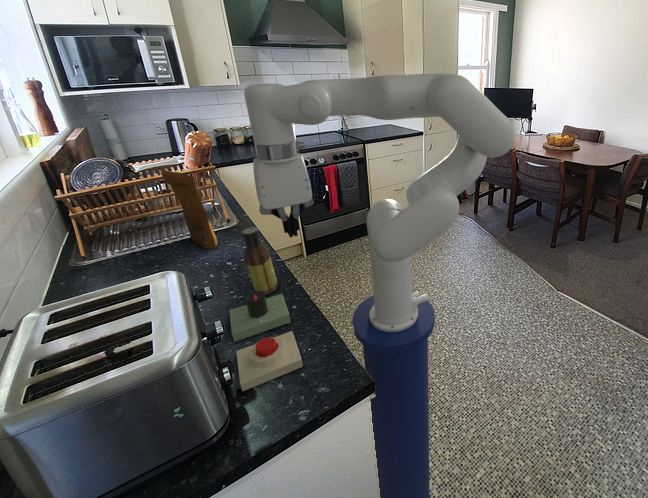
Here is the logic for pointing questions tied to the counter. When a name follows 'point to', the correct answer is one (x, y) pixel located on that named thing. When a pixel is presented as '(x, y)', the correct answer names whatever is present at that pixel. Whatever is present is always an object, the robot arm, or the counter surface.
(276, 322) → the dial panel
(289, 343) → the button housing
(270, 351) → the button
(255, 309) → the dial
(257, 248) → the sauce bottle
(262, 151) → the robot arm
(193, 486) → the counter surface
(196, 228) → the pancake mix bag
